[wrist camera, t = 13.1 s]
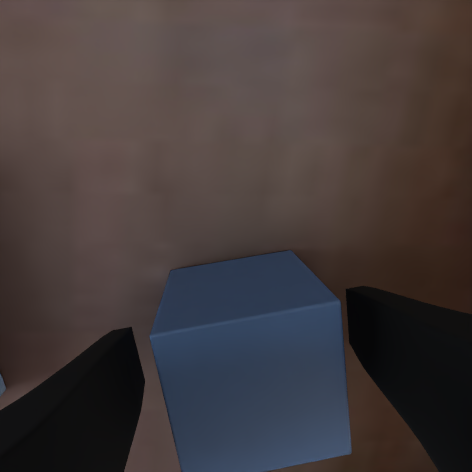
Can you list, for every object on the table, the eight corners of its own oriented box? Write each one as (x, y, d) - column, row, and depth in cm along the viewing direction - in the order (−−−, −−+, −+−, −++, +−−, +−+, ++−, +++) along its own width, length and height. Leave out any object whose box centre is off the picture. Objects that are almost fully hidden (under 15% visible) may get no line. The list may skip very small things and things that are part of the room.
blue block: (302, 355, 13) (352, 454, 8) (192, 375, 12) (184, 490, 8) (291, 248, 11) (341, 301, 7) (169, 269, 11) (148, 335, 7)
